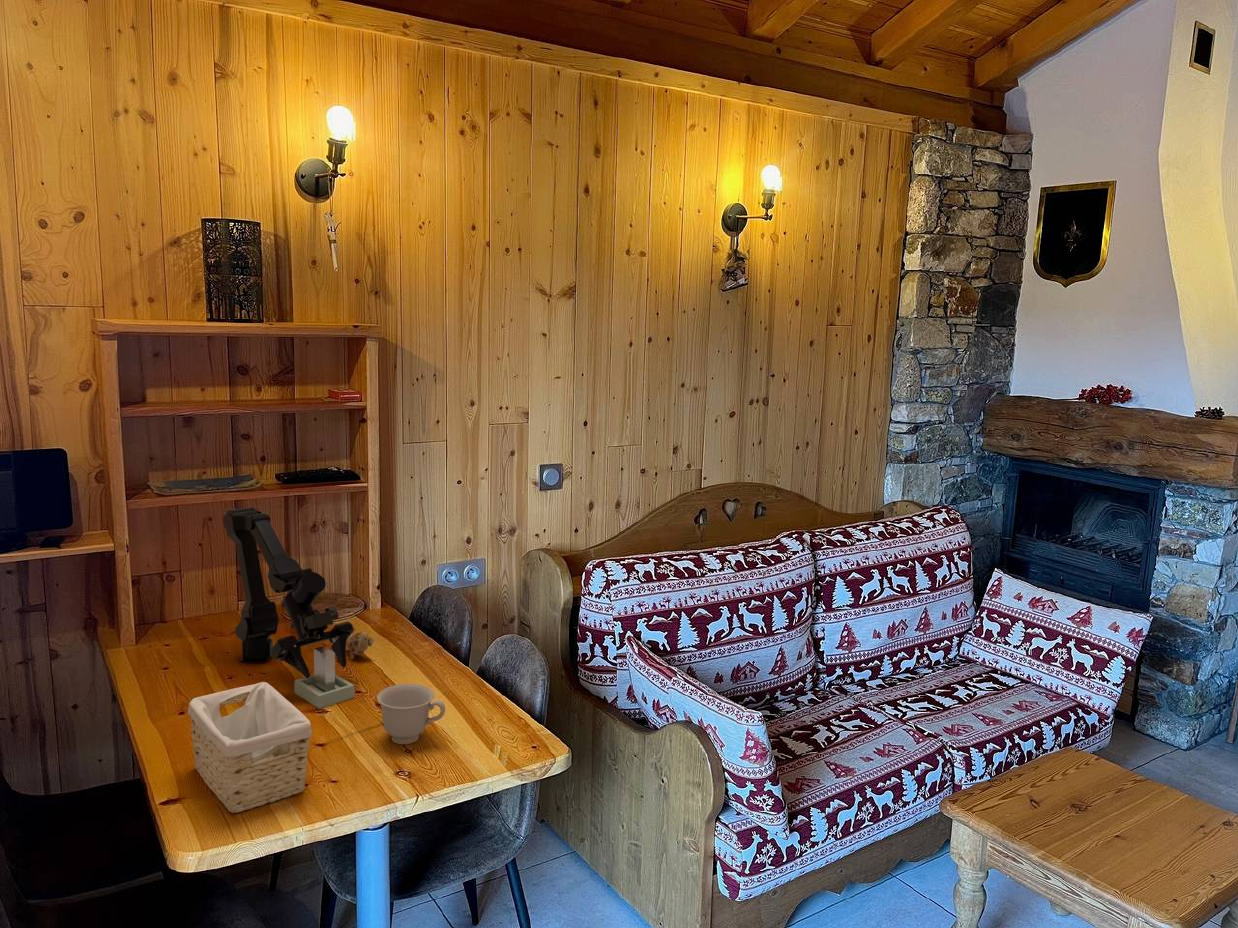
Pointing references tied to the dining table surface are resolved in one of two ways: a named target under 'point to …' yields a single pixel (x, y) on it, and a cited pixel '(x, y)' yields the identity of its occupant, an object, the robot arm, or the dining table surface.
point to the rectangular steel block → (324, 669)
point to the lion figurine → (358, 643)
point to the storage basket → (250, 746)
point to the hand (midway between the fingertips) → (327, 671)
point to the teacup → (407, 711)
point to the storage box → (323, 699)
